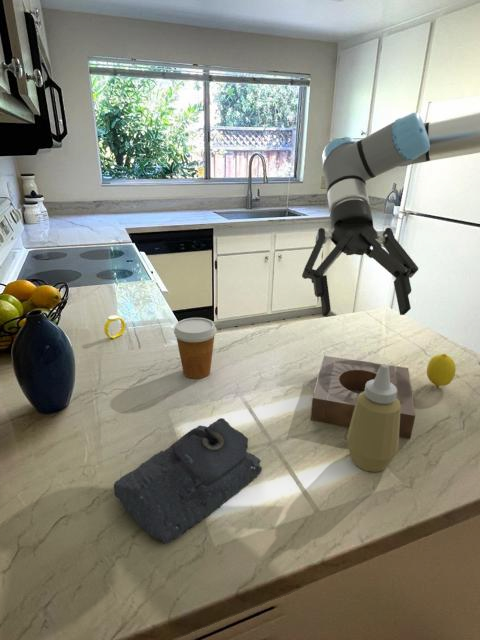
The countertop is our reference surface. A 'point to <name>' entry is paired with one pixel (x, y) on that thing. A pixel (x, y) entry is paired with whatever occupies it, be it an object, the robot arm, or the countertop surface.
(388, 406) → the squeeze bottle
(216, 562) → the countertop surface
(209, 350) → the disposable coffee cup
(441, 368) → the lemon
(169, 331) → the countertop surface
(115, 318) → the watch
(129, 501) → the iron doorstop weight
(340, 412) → the holder
